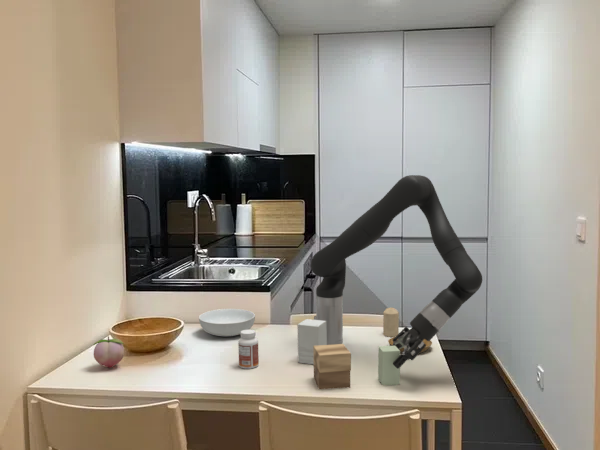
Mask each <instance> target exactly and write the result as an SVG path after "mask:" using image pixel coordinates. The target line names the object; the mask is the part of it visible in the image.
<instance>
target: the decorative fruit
mask: <svg viewBox="0 0 600 450" xmlns="http://www.w3.org/2000/svg"><path fill="white" fill-rule="evenodd" d="M94 345H95V346H94ZM93 346H94V349H93V358H94V360H95V361H96V362H97V363H98V364H99V365H101V366H103V367H106V368H108V369H110V368H112V367H114V366H115V365H118V364H119V363H120V362H121V361H122V360H123V358H124V355H125V348H124V342H123V341H122V340H121V339H118V338H110V336H107V338H106V339H98V340H97V341H95V342H94V343H93Z"/></svg>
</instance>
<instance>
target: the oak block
mask: <svg viewBox="0 0 600 450" xmlns="http://www.w3.org/2000/svg"><path fill="white" fill-rule="evenodd" d="M313 362H314V364H315V366H316V367H317V369H318V371H319V372H320V373H323V372H338V371H350V372H351V371H352V353H351V352H350V350H349V349H348V348H347V347H346V345H345V344H344V343H343V344H333V345H317V346H313ZM314 364H313V365H314Z"/></svg>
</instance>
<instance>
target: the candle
mask: <svg viewBox="0 0 600 450" xmlns="http://www.w3.org/2000/svg"><path fill="white" fill-rule="evenodd" d="M382 313H383V316H382V317H383V326H382V327H383V332H382V334H383V336H384V337H388V338H393V337H396V336H397V335H398V334H399V333H400V332H399V330H400V328H399V325H400V323H399V322H400V321H399V320H400V319H399V316H400V315H399V314H400V313H399V310H398V309H396V308H394V307H386V308H385V310H384V311H383V312H382Z"/></svg>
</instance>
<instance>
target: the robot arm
mask: <svg viewBox="0 0 600 450" xmlns="http://www.w3.org/2000/svg"><path fill="white" fill-rule="evenodd" d="M413 206H417V207H418V208H419V209H420V211H421V212H422V213H423V214H424V216H425V218H426V220H427V223H428V226H429V230H430V235H431V238H432V242H433V245H434V247H435V249H436V250H437V251H438V253H439V255H440V256H441V259H442V260H443V262H444V263H445V265H447V266H448V267H449V269H450V270H451V271H450V272H452V275H453V276H454V278H455V279H454V280H453V281H452V282H450V284H449V285H448V286H447V287H446V288H444V289H442V290H441V291H440V292H439V293H438V294H437V295H436V296H435V297H434V299H432V300H431V301H430V302H429V303H427V305H425V306H424V307H423V308H422V309H421V310H420V311H419V312H418V313H417V315H415V317H413V319H412V320H411V321H410V322H409V325H410V326H411V328H410V329H409V328H408V327H407V326H405V327H404V328H403V329H402V330H401V331H400V332H398V335H397V336H396V337H395V338H394V339H393V345H392V346H396V347H397V348H398V349H401V348H403V347H404V351H403V352H401V353H400V356H399V357H398V358H397V359H396V360H395V361H394V362H393V365H394V366H395V367H396V368H397V369H399V368H400V369H401V368H402V366H403V365H404V364H405V363H406V362H407V361H414V360H415V359H416V358H417V356H418V355H419V354H420V352H421V351H422V350H423V349H424V348H425V346H426V344H425V343H424V342H423V340H424V339H425V340H427V341H432V339H433V338H434V337H435V336H436V335H437V334H438V333H439V332H440V330H441V329H442V328H443V327H445V325H446V324H447V322H448V321H449V320H450V319H451V318H452V316H454V315H455V313H457V312H458V310H459V309H460V308H461V307H462V306H463V304H464V303H466V302H467V301H468V300H469V299H471V297H473V296H474V295H475V294H476V293H477V291H479V289H480V288H481V286H482V283H483V275H482V273H481V271H480V269H479V268H478V266H477V265H476V263H475V261H474V260H473V259H472V258H471V256H470V255H469V254H468V252H467V251H466V248H465V246H464V245H463V243H462V241H461V240H460V238H459V237H458V235H457V233H456V232H455V230H454V229H453V226H452V224H451V223H450V221H449V219H448V216H447V215H446V213H445V211H444V210H445V209H444V208H443V206H442V203H441V201H440V199H439V195H438V193H437V190H436V189H435V186H434V184H433V182H432V181H431V180H430V178H428V177H427V176H425V175H421V174H420V175H419V174H417V175H416V174H415V175H414V174H412V175H406V176H403V177H402V178H400V179H399V180H398V181H397V182H396V183H395V184H394V185H393V186H392V187H391V188H390V190H389V191H388V192H386V194H385V195H384V196H383V197H382V198H381V199H380V200H379V201H377V202H376V203H374V205H373V206H371V207H370V208H369V209H368V210H366V211H365V212H363V214H361V215H360V216H359V217H357V219H356V220H355V221H354V222H353V223H352V224H351V225H349V226H348V227H347V228H346V229H345V230H344V231H342V233H340V235H338V236H337V237H336V238H335V239H334V240H333V241H332V242H330V243H329V244H327V245H326V246H324V247H323V248H322V249H320V250H318V251H317V252H316V253H315V254H313V256H312V259H311V262H310V268H311V272H312V273H313V274H314V275H315V276H317V277H319V278H322V281H321V282H320V283H319V284H318V285H317V286H316V289H315V306H316V307H315V309H316V314H315V316H314V317H313V320H322V321H326V330H327V345H333V344H344V343H343V338H344V337H343V332H344V329H343V326H344V325H343V324H344V323H343V322H344V321H343V320H344V319H343V315H344V314H343V313H344V311H343V307H344V305H343V300H344V299H343V295H344V294H343V293H344V290H345V287H346V272H347V261H346V259H347V258H349V257H350V256H353V255H356V254H358V253H360V252H361V251H363V250H364V249H366V248H368V247H369V246H371V245H372V244H374V243H375V242H377V240H379V239H381V237H382V236H384V235H385V233H386V232H387V231H388V229H389V227H390V226H391V223H392V221H393V220H394V219H395V218H396V217H397V216H398V215H400V214H401V213H402V212H404V211H405V210H407V209H408V208H410V207H413ZM397 339H398V340H397ZM421 353H422V352H421Z"/></svg>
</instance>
